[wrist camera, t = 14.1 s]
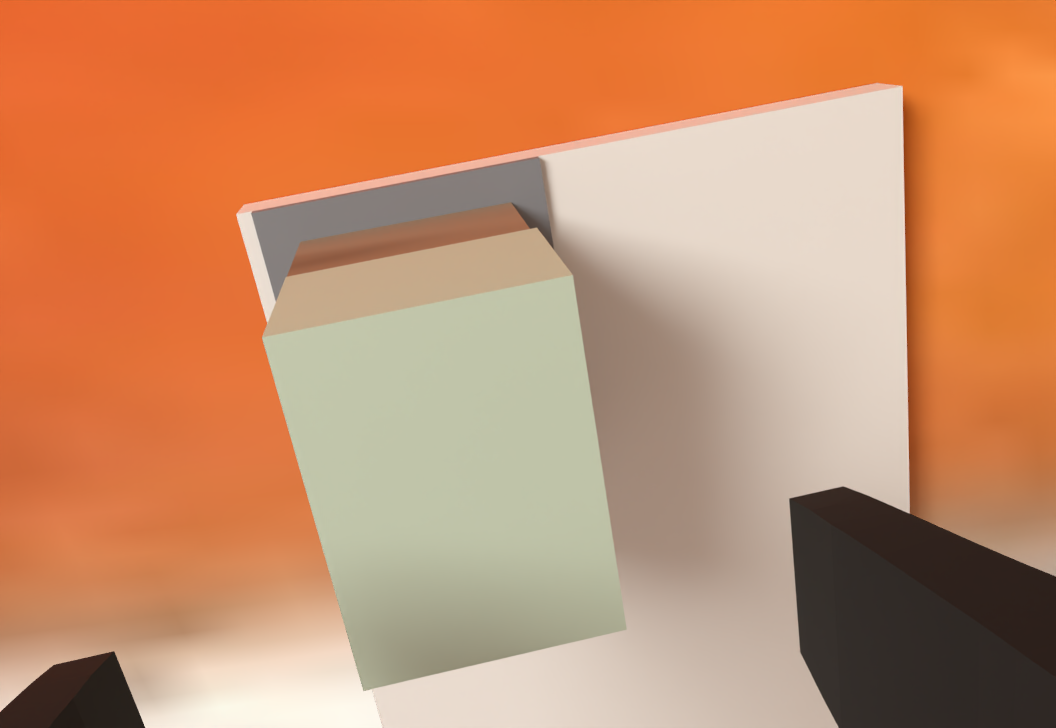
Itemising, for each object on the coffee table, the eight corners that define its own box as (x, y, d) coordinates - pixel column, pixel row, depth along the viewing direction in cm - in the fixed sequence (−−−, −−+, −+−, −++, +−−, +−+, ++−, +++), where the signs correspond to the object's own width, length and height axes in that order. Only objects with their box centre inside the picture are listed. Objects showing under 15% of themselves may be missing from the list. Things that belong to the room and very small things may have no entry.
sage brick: (586, 528, 17) (626, 629, 14) (367, 577, 16) (363, 690, 14) (536, 227, 15) (572, 275, 12) (285, 277, 14) (261, 337, 12)
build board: (895, 754, 25) (918, 787, 24) (431, 870, 24) (433, 910, 23) (877, 83, 19) (908, 86, 18) (243, 204, 18) (234, 216, 17)
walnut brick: (554, 462, 19) (582, 535, 17) (366, 502, 19) (363, 583, 16) (511, 201, 17) (534, 235, 15) (300, 241, 17) (283, 283, 14)
